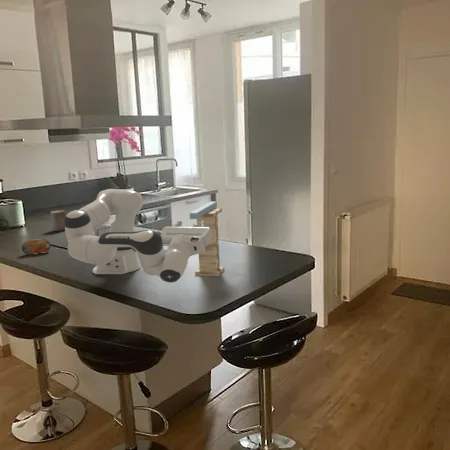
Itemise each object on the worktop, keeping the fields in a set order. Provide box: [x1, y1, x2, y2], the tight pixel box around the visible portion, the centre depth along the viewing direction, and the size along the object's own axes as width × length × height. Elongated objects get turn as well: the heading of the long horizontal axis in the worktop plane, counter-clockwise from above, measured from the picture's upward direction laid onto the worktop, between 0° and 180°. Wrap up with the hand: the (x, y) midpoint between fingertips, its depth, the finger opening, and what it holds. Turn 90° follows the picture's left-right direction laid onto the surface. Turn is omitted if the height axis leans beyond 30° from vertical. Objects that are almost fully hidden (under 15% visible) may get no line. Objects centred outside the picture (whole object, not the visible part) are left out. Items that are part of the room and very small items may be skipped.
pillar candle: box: [49, 209, 66, 232], centre depth 324 cm, size 10×10×15 cm
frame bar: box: [189, 201, 218, 220], centre depth 205 cm, size 30×3×2 cm, turn 165°
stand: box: [194, 207, 225, 277], centre depth 212 cm, size 14×11×29 cm
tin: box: [21, 238, 51, 255], centre depth 262 cm, size 15×3×8 cm, turn 109°
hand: (191, 222), depth 187 cm, fingers open, 8 cm apart
